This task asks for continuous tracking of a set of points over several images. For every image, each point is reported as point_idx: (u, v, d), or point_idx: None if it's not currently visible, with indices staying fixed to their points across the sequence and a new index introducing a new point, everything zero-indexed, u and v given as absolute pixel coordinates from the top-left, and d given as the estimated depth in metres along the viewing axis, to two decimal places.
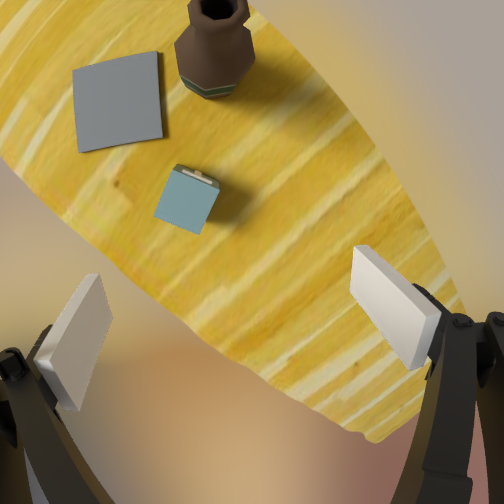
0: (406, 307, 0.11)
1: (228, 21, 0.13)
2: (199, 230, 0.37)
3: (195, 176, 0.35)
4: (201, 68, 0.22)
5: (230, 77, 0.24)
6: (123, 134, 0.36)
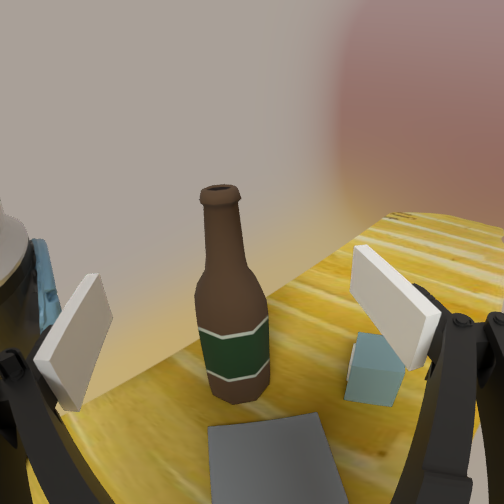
0: (406, 307, 0.11)
1: None
2: None
3: (352, 354, 0.33)
4: (252, 282, 0.29)
5: None
6: (318, 450, 0.26)
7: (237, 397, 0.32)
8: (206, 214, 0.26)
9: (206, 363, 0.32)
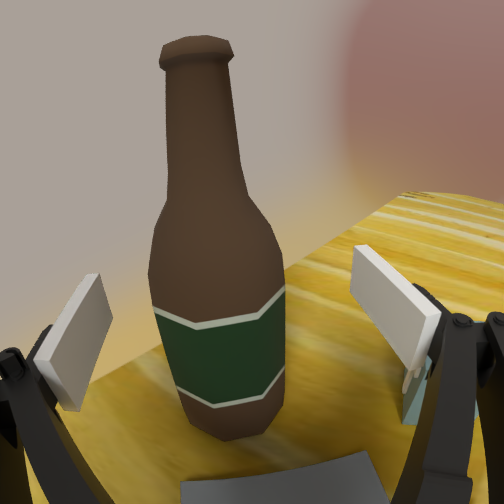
0: (406, 307, 0.11)
1: None
2: None
3: None
4: (255, 216, 0.15)
5: None
6: None
7: (231, 431, 0.18)
8: (168, 80, 0.12)
9: (174, 375, 0.17)
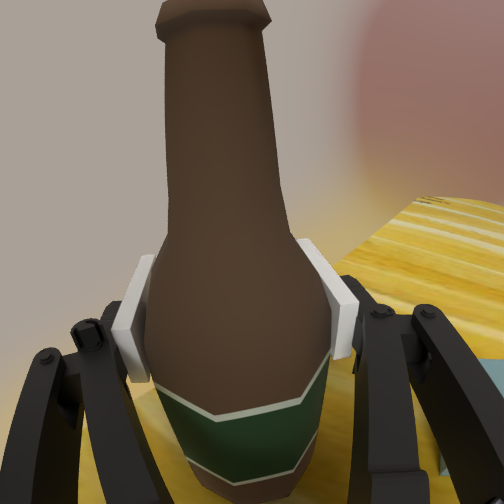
0: (327, 296, 0.12)
1: None
2: None
3: None
4: (300, 263, 0.10)
5: None
6: None
7: (252, 500, 0.13)
8: (169, 53, 0.07)
9: (184, 448, 0.13)
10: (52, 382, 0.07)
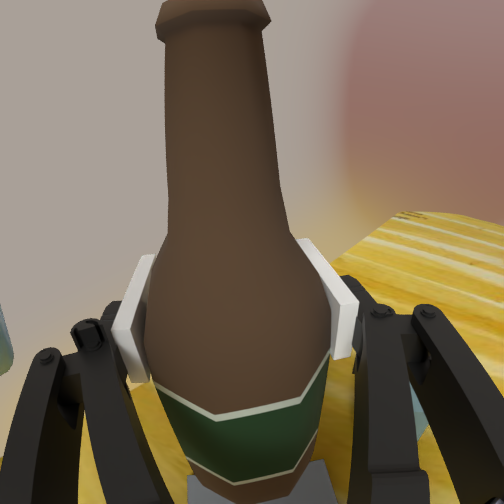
0: (327, 296, 0.12)
1: None
2: None
3: None
4: (300, 263, 0.10)
5: None
6: None
7: (252, 499, 0.13)
8: (169, 53, 0.07)
9: (184, 448, 0.13)
10: (52, 382, 0.07)
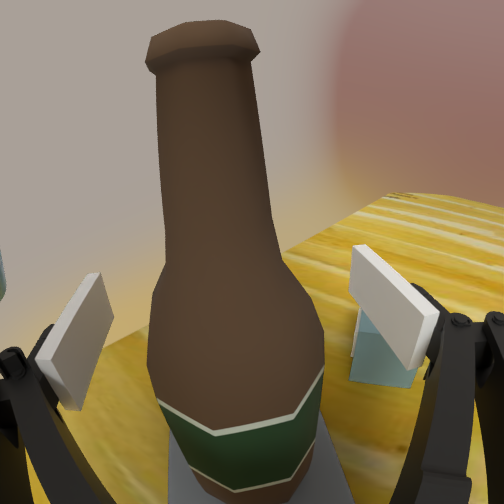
0: (404, 307, 0.11)
1: None
2: None
3: (358, 320, 0.26)
4: (292, 290, 0.11)
5: None
6: (317, 446, 0.19)
7: None
8: (160, 91, 0.08)
9: (187, 458, 0.13)
10: None
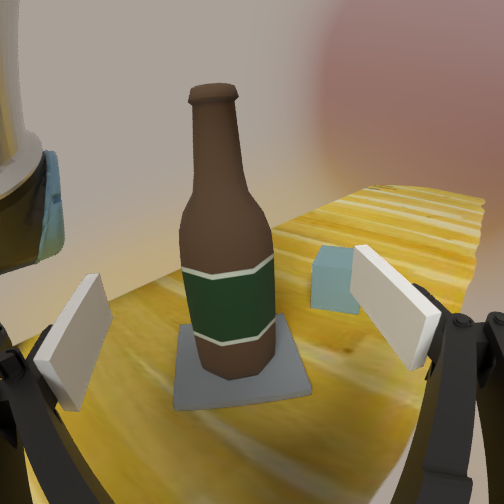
0: (406, 307, 0.11)
1: None
2: None
3: None
4: (252, 204, 0.22)
5: None
6: (282, 342, 0.31)
7: (234, 370, 0.25)
8: (195, 114, 0.20)
9: (193, 321, 0.25)
10: None
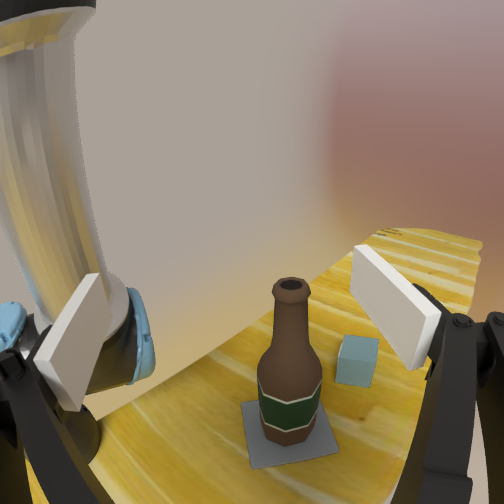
0: (406, 307, 0.11)
1: (302, 280, 0.30)
2: (375, 339, 0.48)
3: (340, 350, 0.48)
4: (313, 357, 0.32)
5: None
6: (317, 415, 0.40)
7: (290, 442, 0.35)
8: (280, 308, 0.29)
9: (266, 418, 0.34)
10: None
